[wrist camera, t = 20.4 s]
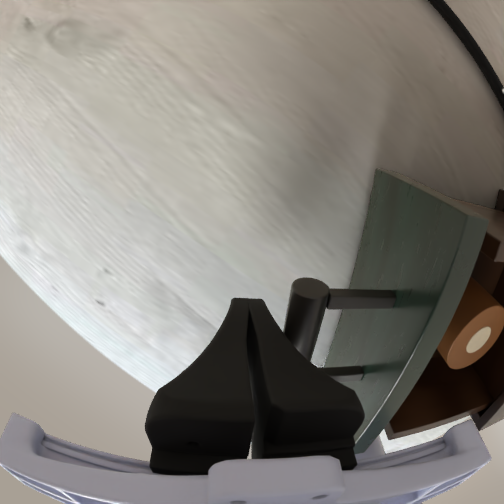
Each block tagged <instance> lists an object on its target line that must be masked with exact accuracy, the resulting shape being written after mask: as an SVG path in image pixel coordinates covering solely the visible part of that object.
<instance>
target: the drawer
mask: <svg viewBox="0 0 504 504" xmlns="http://www.w3.org/2000/svg"><path fill="white" fill-rule="evenodd" d="M470 277H472V278H473V279H474V280H476V281H477V282H478V283H479V284H480V285H481V286H482V287H483V288H484V289H485V290H486V291H487V292H488V293H489V294H490V295H491V296H492V297H493V298H494V299H495V300H496V301H497V302H498V303H499V304H500V305H501V306H502V307H503V308H504V212H502V211H499V210H495V209H492V208H488V207H484V206H480V205H476V204H473V203H469V202H464V201H460V200H456V199H452V198H449V197H447V196H445V195H443V194H441V193H439V192H437V191H435V190H433V189H431V188H429V187H427V186H425V185H423V184H421V183H419V182H417V181H414V180H412V179H410V178H408V177H406V176H404V175H401V174H399V173H397V172H393V171H388V170H383V169H376V172H375V178H374V183H373V188H372V194H371V199H370V204H369V209H368V214H367V218H366V223H365V227H364V232H363V236H362V240H361V245H360V249H359V253H358V257H357V261H356V265H355V268H354V272H353V276H352V280H351V283H350V287H349V289H329V287H328V286H327V285H326V284H325V283H324V282H322V281H320V280H317V279H313V278H299V279H297V280H295V281H294V282H293V283H292V286H291V292H290V297H289V303H288V308H287V314H286V319H285V324H284V329H283V333H284V334H285V336H286V337H287V338H288V339H289V341H290V342H291V343H292V344H293V345H294V347H295V348H296V349H297V350H298V351H299V352H300V353H301V354H302V355H303V356H304V357H305V358H306V359H307V360H309V361H311V358H312V354H313V351H314V348H315V344H316V341H317V338H318V334H319V331H320V327H321V323H322V320H323V316H324V313H325V309H326V307H327V309H343V311H342V314H341V317H340V321H339V324H338V327H337V330H336V333H335V336H334V339H333V342H332V345H331V348H330V351H329V354H328V357H327V360H326V362H325V365H324V368H318V369H320V370H321V371H322V372H324V373H325V374H327V375H328V376H330V377H331V378H333V379H334V380H336V381H338V382H340V383H341V384H343V385H345V386H347V387H349V388H351V389H353V390H355V392H356V394H357V396H358V398H359V400H360V402H361V404H362V407H363V410H364V412H365V419H364V421H363V423H362V425H361V426H360V428H359V429H358V431H357V432H356V433H355V435H354V436H353V437H354V440H355V447H354V448H353V450H354V453H355V454H359V453H364V452H365V451H366V450H367V449H368V447H369V446H370V445H371V444H372V443H373V441H374V440H375V439H376V438H377V437H378V435H379V434H380V433H381V432H382V430H383V429H385V432H386V435H387V437H388V440H391V439H396V438H400V437H404V436H408V435H411V434H415V433H419V432H422V431H425V430H429V429H432V428H435V427H438V426H441V425H444V424H447V423H450V422H453V421H456V420H458V419H461V418H464V417H466V416H469V415H471V414H474V413H476V412H479V411H481V410H483V409H486V408H488V407H490V406H491V405H492V404H493V402H494V401H495V400H496V399H497V398H498V396H499V395H500V394H501V392H502V391H503V390H504V326H503V329H502V331H501V333H500V335H499V337H498V338H497V340H496V341H495V343H494V344H493V345H492V347H491V348H490V349H489V350H488V351H487V352H486V353H485V354H484V355H483V356H482V357H481V358H479V359H478V360H477V361H475V362H474V363H472V364H471V365H469V366H467V367H464V368H461V369H452V368H450V367H449V366H448V365H447V363H446V362H445V360H444V358H443V357H442V355H441V354H440V352H439V351H438V349H437V347H438V345H439V343H440V341H441V340H442V338H443V336H444V334H445V332H446V330H447V328H448V326H449V324H450V322H451V320H452V318H453V316H454V314H455V312H456V309H457V307H458V305H459V303H460V301H461V298H462V296H463V294H464V291H465V289H466V287H467V284H468V282H469V279H470Z"/></svg>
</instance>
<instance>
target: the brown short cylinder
mask: <svg viewBox="0 0 504 504" xmlns="http://www.w3.org/2000/svg"><path fill="white" fill-rule="evenodd" d="M503 326H504V308H503V307H502V306H501V305H500V304H499V303H498V302H497V301H496V300H495V299H494V298H493V297H492V296H491V295H490V294H489V293H488V292H487V291H486V290H485V289H484V288H483V287H482V286H481V285H480V284H479V283H478V282H477V281H476V280H474V279H473V278H472V277H470V279H469V282H468V284H467V287H466V289H465V291H464V294H463V296H462V298H461V301H460V303H459V305H458V307H457V309H456V312H455V314H454V316H453V318H452V320H451V322H450V324H449V326H448V328H447V330H446V332H445V334H444V336H443V338H442V340H441V341H440V343H439V345H438V347H437V349H438V351H439V352H440V354H441V355H442V357H443V358H444V360H445V362H446V363H447V365H448V366H449V367H450V368H452V369H461V368H464V367H467V366H469V365H471V364H472V363H474V362H475V361H477V360H478V359H479V358H481V357H482V356H483V355H484V354H485V353H486V352H487V351H488V350H489V349H490V348H491V347H492V345H493V344H494V343H495V341H496V340H497V338H498V337H499V335H500V333H501V331H502V329H503Z"/></svg>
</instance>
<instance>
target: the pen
mask: <svg viewBox="0 0 504 504" xmlns="http://www.w3.org/2000/svg"><path fill="white" fill-rule="evenodd" d="M428 1H429V2H430V3H431V4H432V5H433V7H434V8H435V9H436V10H437V11H438V12H439V13H440V15H441V16H442V17H443V18H444V19H445V21H446V22H447V23H448V24H449V26H450V27H451V28H452V29H453V31H454V32H455V33H456V35H457V36H458V37H459V39H460V40H461V41H462V43H463V44H464V45H465V47H466V48H467V50H468V51H469V53H470V54H471V56H472V57H473V59H474V60H475V62H476V63H477V65H478V66H479V68H480V69H481V71H482V73H483V74H484V76H485V78H486V79H487V81H488V83H489V84H490V86H491V88H492V90H493V91H494V93H495V95H496V97H497V99H498V101H499V103H500V104H501V106H502V108H503V110H504V87H503V85H502V84H501V82H500V80H499V78H498V76H497V75H496V73H495V71H494V70H493V68H492V66H491V65H490V63H489V61H488V60H487V58H486V56H485V55H484V53H483V52H482V50H481V49H480V47H479V46H478V44H477V43H476V41H475V40H474V38H473V37H472V36H471V34H470V33H469V31H468V30H467V29H466V27H465V26H464V25H463V23H462V22H461V21H460V20H459V18H458V17H457V16H456V14H455V13H454V12H453V11H452V10H451V8H450V7H449V6H448V5H447V4H446V2H445V1H444V0H428Z"/></svg>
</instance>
